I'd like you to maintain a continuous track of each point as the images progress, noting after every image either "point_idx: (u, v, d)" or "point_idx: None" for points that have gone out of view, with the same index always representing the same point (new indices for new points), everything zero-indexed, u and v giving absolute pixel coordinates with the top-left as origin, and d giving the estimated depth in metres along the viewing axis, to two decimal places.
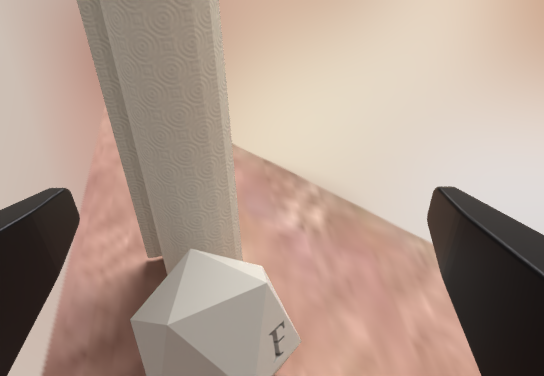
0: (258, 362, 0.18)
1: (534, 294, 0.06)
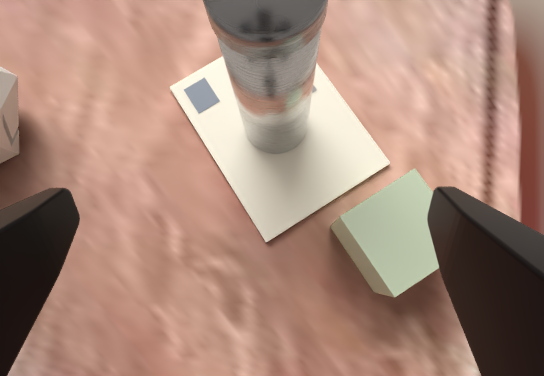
0: None
1: (534, 294, 0.06)
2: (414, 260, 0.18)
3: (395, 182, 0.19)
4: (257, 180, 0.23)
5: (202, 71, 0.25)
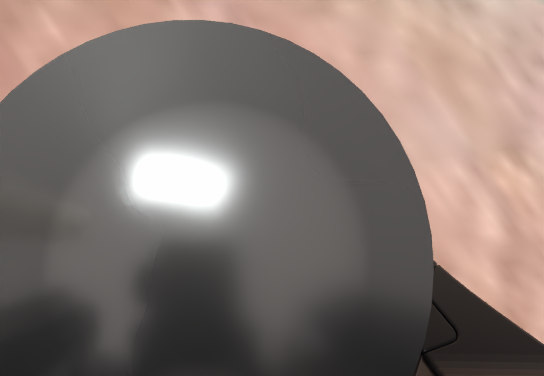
0: None
1: None
2: None
3: None
4: None
5: None
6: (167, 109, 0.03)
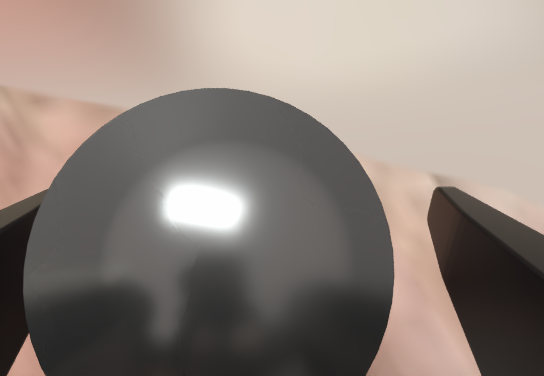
0: None
1: (534, 294, 0.06)
2: None
3: None
4: None
5: None
6: (200, 156, 0.05)
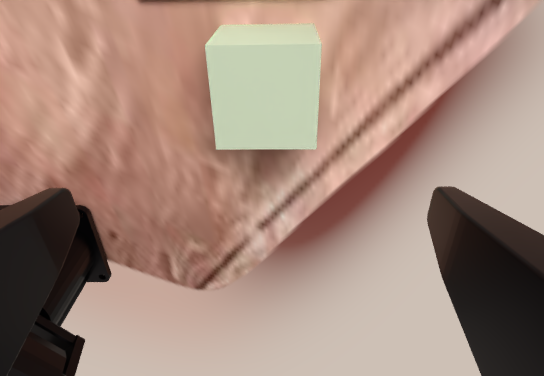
0: None
1: (534, 294, 0.06)
2: (255, 131, 0.17)
3: (289, 46, 0.15)
4: None
5: None
6: None
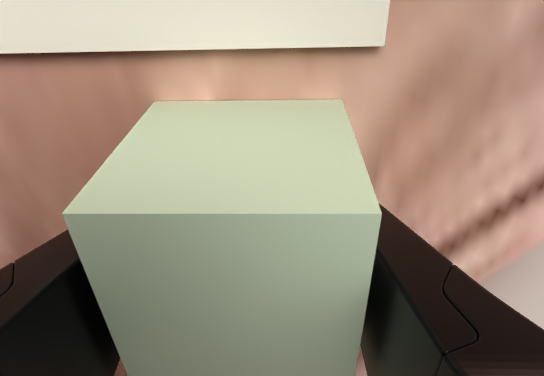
0: None
1: (388, 293, 0.06)
2: (214, 364, 0.07)
3: (292, 216, 0.05)
4: None
5: None
6: None
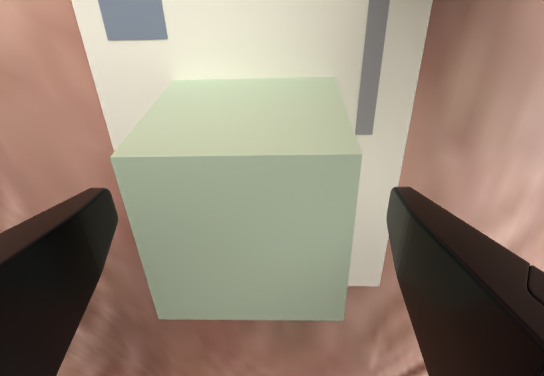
0: None
1: (466, 293, 0.06)
2: (228, 294, 0.09)
3: (292, 157, 0.07)
4: None
5: None
6: None
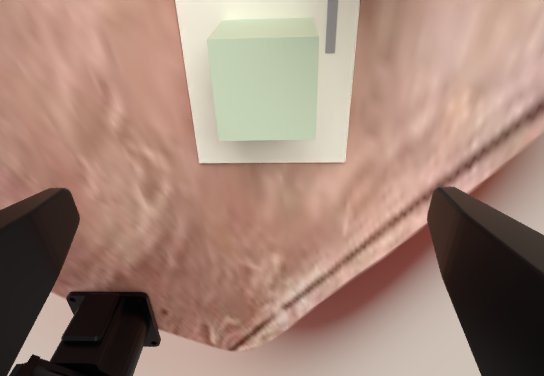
0: None
1: (534, 294, 0.06)
2: (256, 122, 0.17)
3: (288, 39, 0.15)
4: None
5: None
6: None
